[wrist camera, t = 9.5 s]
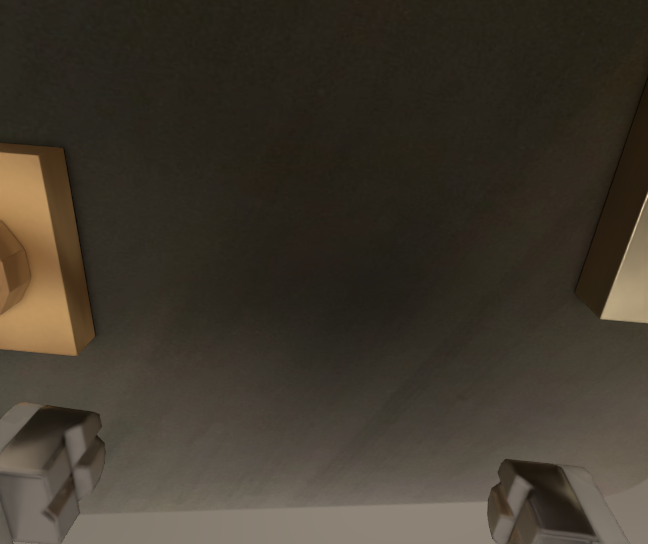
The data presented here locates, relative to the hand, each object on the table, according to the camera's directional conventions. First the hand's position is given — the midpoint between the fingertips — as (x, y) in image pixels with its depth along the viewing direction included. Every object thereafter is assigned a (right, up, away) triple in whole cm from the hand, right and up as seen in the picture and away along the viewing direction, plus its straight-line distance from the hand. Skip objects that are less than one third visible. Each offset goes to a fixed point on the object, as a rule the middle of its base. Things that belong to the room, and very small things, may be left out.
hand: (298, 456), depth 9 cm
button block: (-19, +5, +18) cm, 26 cm away
